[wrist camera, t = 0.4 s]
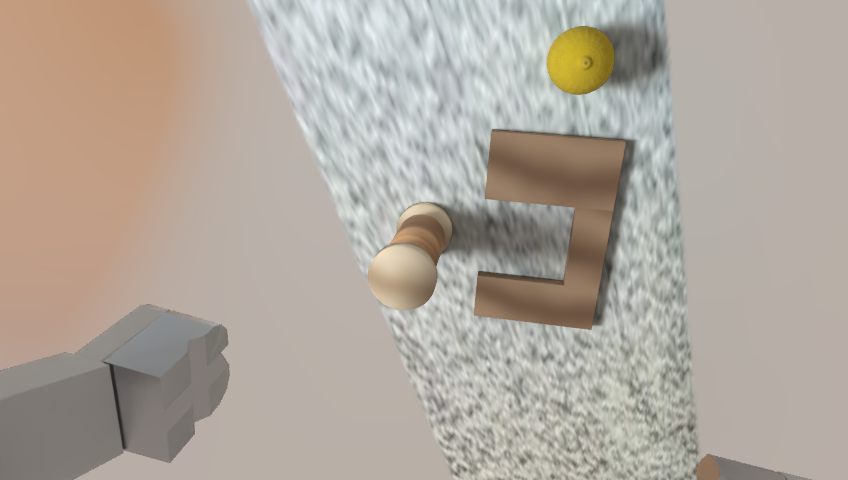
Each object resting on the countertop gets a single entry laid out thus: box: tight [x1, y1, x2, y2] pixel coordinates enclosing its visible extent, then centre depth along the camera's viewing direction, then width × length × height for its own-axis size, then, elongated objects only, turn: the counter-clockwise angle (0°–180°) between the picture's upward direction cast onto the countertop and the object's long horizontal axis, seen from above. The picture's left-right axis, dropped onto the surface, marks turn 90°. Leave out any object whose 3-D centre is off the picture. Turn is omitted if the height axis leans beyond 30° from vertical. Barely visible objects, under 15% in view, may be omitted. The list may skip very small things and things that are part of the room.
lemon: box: [547, 26, 615, 95], centre depth 47 cm, size 6×6×8 cm
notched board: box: [474, 129, 626, 330], centre depth 56 cm, size 20×12×1 cm, turn 177°
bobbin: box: [368, 202, 453, 310], centre depth 53 cm, size 6×6×13 cm
